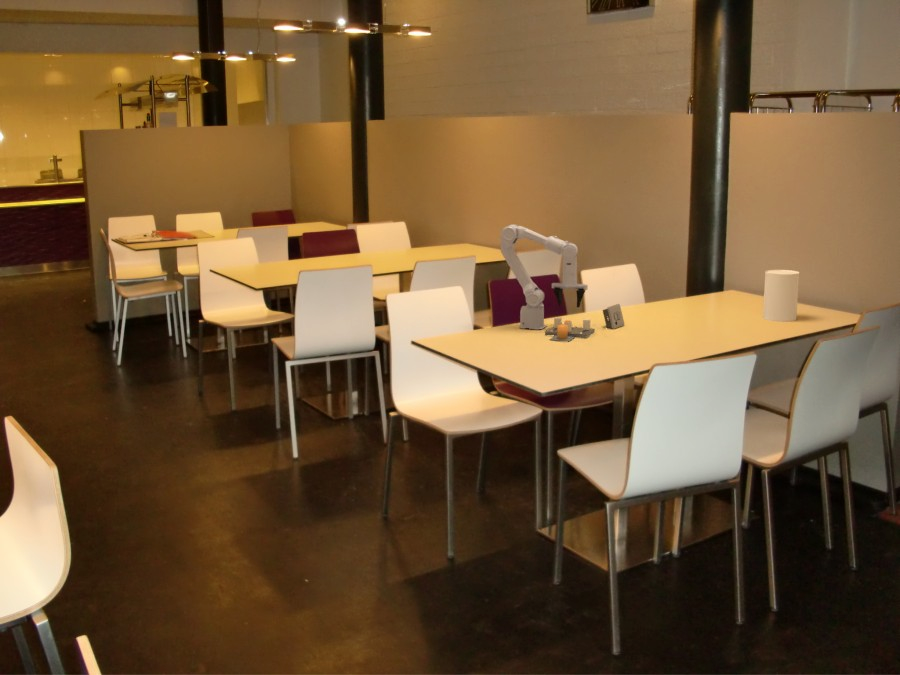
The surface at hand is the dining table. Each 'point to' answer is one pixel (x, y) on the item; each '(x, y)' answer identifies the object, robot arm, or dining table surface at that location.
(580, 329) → the panel
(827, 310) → the dining table surface
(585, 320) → the block
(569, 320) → the block
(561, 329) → the cap
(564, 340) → the mat
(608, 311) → the electrical switch
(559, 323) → the block
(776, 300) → the canister
